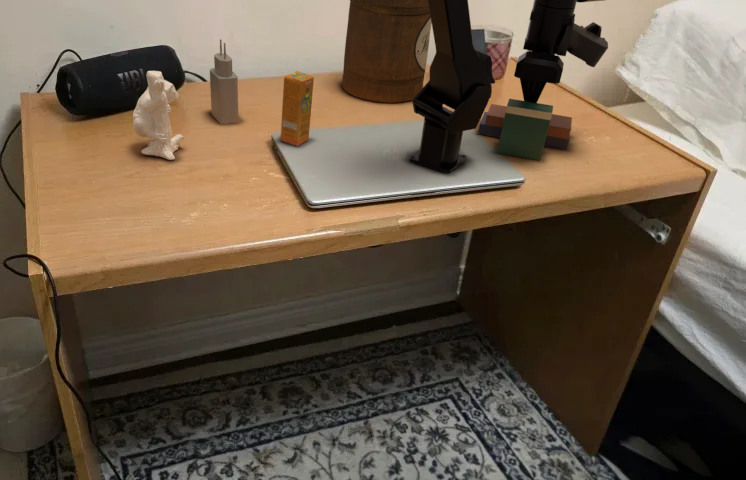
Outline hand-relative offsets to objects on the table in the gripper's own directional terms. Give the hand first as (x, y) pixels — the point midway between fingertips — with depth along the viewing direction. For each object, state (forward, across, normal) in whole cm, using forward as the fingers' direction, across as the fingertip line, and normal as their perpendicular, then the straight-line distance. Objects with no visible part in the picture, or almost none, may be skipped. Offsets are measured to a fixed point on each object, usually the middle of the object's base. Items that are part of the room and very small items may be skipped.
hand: (529, 110), depth 102 cm
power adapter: (+6, -12, +46) cm, 48 cm away
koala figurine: (+6, -28, +48) cm, 56 cm away
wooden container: (+6, +14, +27) cm, 31 cm away
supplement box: (+6, -16, +32) cm, 37 cm away
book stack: (+5, +3, 0) cm, 6 cm away
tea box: (+5, -2, 0) cm, 6 cm away
